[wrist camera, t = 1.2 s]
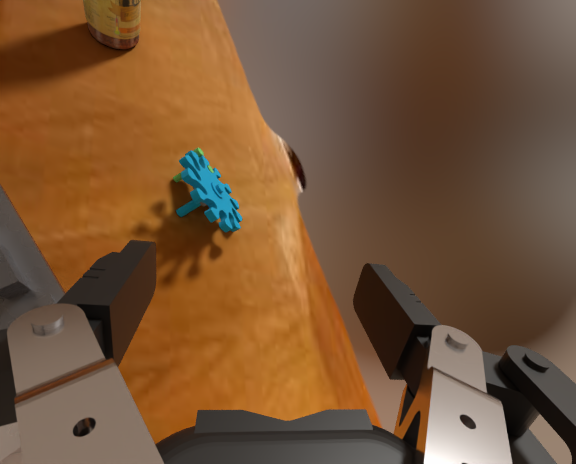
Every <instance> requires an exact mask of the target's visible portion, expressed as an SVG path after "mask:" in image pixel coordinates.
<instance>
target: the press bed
mask: <svg viewBox="0 0 576 464" xmlns="http://www.w3.org/2000/svg"><path fill="white" fill-rule="evenodd" d="M65 294H66V293H65V292H64V290H63V288H62V287H61V285H60V283H59V282H58V280H57V278H56V276H55V275H54V273H53V271H52V270H51V268H50V266H49V265H48V263H47V261H46V260H45V258H44V256H43V255H42V253H41V251H40V250H39V248H38V246H37V245H36V243H35V241H34V240H33V238H32V236H31V234H30V233H29V231H28V229H27V228H26V226H25V224H24V223H23V221H22V219H21V218H20V216H19V214H18V213H17V211H16V209H15V208H14V206H13V204H12V203H11V201H10V199H9V197H8V196H7V194H6V192H5V191H4V189H3V188H2V186H1V185H0V330H3V329H8V327H9V326H10V325H11V323H12V322H13V321H14V320H15V319H17V318H18V317H19V316H21V315H23V314H24V313H26V312H28V311H30V310H33V309H35V308H38V307H42V306H46V305H50V304H56V303H57V302H58V301H59V300H60V299H61V298H62V297H63V296H64V295H65ZM153 442H154V441H153ZM154 444H155V443H154Z"/></svg>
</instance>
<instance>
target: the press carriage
mask: <svg viewBox="0 0 576 464" xmlns="http://www.w3.org/2000/svg"><path fill="white" fill-rule="evenodd" d="M0 464H23V457H22V450H21V444H20V437H19V430H18V423H17V422H15V423H12V424H8V425H4V426H0Z"/></svg>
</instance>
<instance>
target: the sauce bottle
mask: <svg viewBox="0 0 576 464" xmlns="http://www.w3.org/2000/svg"><path fill="white" fill-rule="evenodd" d="M83 3H84V10H85V17H86V19H87V21H88V28H89V30H90V32H91V34H92V35H93V37H94V38H96V40H97V41H99V42H101V43H102V44H105V45H107V46H109V47H112V48H115V49H128V48H132V47H134V46H135V45H136V44H137V43H138V40H139V33H140V10H141V0H83Z"/></svg>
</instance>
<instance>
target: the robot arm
mask: <svg viewBox="0 0 576 464" xmlns="http://www.w3.org/2000/svg"><path fill="white" fill-rule="evenodd" d="M155 286H156V244H155V242H149V241H139V240H131V241H129V243H128V244H127V245H126V246H125V247H124V249H123V250H122V251H121V252H120V253H117V252H112V253H110V254H108V255H106V256H104V257H102V258H100V259H98V260H97V261H96V262H95V263H94V264H93V265H92V266H91V267H90V270H88V271H87V272H86V273H85V274H84V275H83V277H82V278H80V279H79V280H78V281H77V282H76V283H75V284H74V285H73V286H72V287H71V288H70V289H69V291H68V292H67V293H66V294H65V295H64V296H63V297H62V298H61V299H60V300H59V301H58V302H57V303H56V304H50V305H46V306H42V307H38V308H35V309H33V310H30V311H28V312H26V313H24V314H23V315H21V316H19V317H18V318H17V319H15V320H14V321H13V322H12V323H11V325H10V326H9V327H8V329H3V330H0V426H4V425H8V424H12V423H15V422H17V423H18V430H19V437H20V444H21V450H22V457H23V464H557V463H556V462H555V461H554V459H553V458H552V457H551V456H550V455H549V453H548V452H547V451H546V449H545V448H544V447H543V446H542V444H541V443H540V442H539V441H538V440H537V439H536V437H535V436H534V435H533V434H532V432H531V431H530V430H529V427H530V425H531V424H532V423H533V422H534V420H535V419H536V418H537V416H538V415H539V414H541V415H542V417H543V418H544V419H545V420H546V421H547V422H548V423H549V424H550V426H551V427H552V428H553V429H554V430H555V431H556V432H557V434H558V435H559V436H560V437H561V438H562V439H563V440H564V441H565V443H566V444H567V446H568V448H569V449H570V452H571V455H572V464H576V384H575V383H574V382H573V381H572V380H571V379H570V378H569V377H567V376H566V375H565V374H564V373H563V372H562V371H561V370H560V369H559V368H558V367H556V366H555V365H554V364H553V363H552V362H551V361H549V360H548V359H546V358H545V357H543V356H542V355H540V354H538V353H536V352H534V351H532V350H530V349H527V348H524V347H521V346H516V345H513V346H509V347H508V348H507V350H506V351H505V353H504V355H503V356H502V357H500V356H497V355H494V354H490V353H487V352H483V351H482V350H481V348H480V347H479V345H478V344H477V343H476V342H475V341H474V340H473V339H472V338H471V337H469V336H468V335H467V334H465V333H463V332H462V331H460V330H458V329H455V328H453V327H450V326H444V325H441V324H440V323H439V322H438V321H437V320H436V318H435V317H434V316H433V315H432V314H431V312H430V311H429V310H428V309H427V308H426V307H425V305H424V304H423V303H421V301H420V300H419V298H418V297H417V296H415V294H414V293H413V292H412V290H411V289H410V288H409V287H408V286H407V285H406V284H404V283H403V282H401V281H400V280H399V279H397V278H396V277H395V276H394V275H393V273H392V272H391V271H390V270H389V269H388V268H387V267H386V266H385V265H379V264H369V263H367V264H365V265H364V267H363V269H362V272H361V275H360V278H359V282H358V285H357V288H356V291H355V294H354V299H353V305H354V309H355V312H356V313H357V315H358V318H359V319H360V321H361V323H362V325H363V327H364V329H365V331H366V333H367V335H368V337H369V339H370V341H371V343H372V345H373V347H374V349H375V351H376V353H377V355H378V357H379V359H380V361H381V363H382V365H383V367H384V369H385V371H386V373H387V375H388V376H389V379H394V380H396V379H397V380H405V381H406V383H407V384H406V386H405V388H404V390H403V394H402V398H401V403H400V408H399V412H398V417H397V421H396V426H395V430H394V434H392V433H390V432H388V431H386V430H384V429H382V428H379V427H377V426H374V425H372V424H371V422H370V419H369V416H368V414H367V411H366V410H325V411H322V412H318V413H315V414H312V415H308V416H305V417H302V418H298V419H295V420H291V421H284V420H280V419H276V418H272V417H268V416H264V415H260V414H256V413H252V412H248V411H244V410H198V413H197V419H196V425H195V426H193V427H190V428H186V429H184V430H181V431H179V432H176V433H174V434H172V435H170V436H169V437H167V438H165V439H163V440H161V441H160V442H158V443H157V444H154V442H153V439H152V437H151V435H150V433H149V431H148V429H147V427H146V425H145V423H144V421H143V419H142V417H141V415H140V413H139V411H138V408H137V406H136V404H135V402H134V400H133V398H132V396H131V394H130V392H129V390H128V388H127V386H126V384H125V382H124V380H123V378H122V375H121V373H120V371H119V369H118V366H119V364H120V362H121V360H122V358H123V356H124V354H125V352H126V350H127V348H128V346H129V344H130V342H131V340H132V338H133V336H134V334H135V332H136V330H137V328H138V326H139V324H140V322H141V320H142V317H143V315H144V313H145V311H146V309H147V307H148V305H149V303H150V301H151V299H152V297H153V294H154V291H155Z"/></svg>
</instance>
